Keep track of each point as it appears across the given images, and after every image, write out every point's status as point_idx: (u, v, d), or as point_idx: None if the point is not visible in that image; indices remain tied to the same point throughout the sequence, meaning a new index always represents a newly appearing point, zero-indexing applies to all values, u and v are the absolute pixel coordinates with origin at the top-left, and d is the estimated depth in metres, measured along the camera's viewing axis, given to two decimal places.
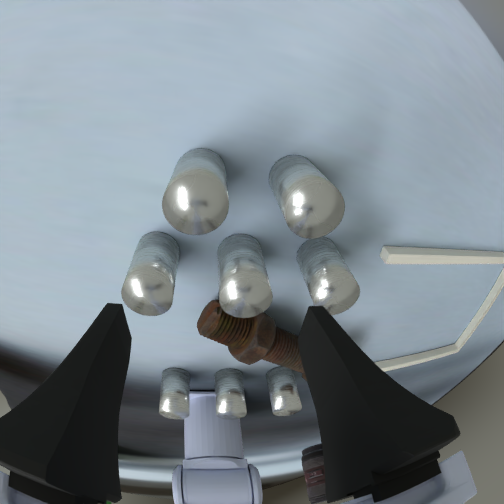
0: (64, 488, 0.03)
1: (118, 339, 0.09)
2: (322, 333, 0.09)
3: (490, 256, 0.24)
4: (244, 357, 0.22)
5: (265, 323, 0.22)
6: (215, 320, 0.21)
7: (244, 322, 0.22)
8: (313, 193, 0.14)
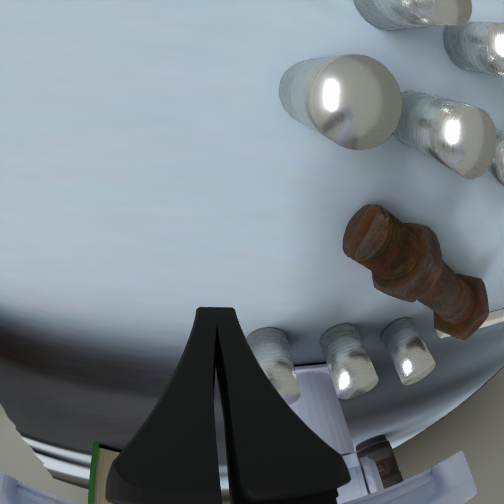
0: None
1: (216, 343, 0.10)
2: (218, 336, 0.09)
3: None
4: (413, 288, 0.14)
5: (431, 236, 0.14)
6: (382, 228, 0.13)
7: (410, 234, 0.14)
8: None
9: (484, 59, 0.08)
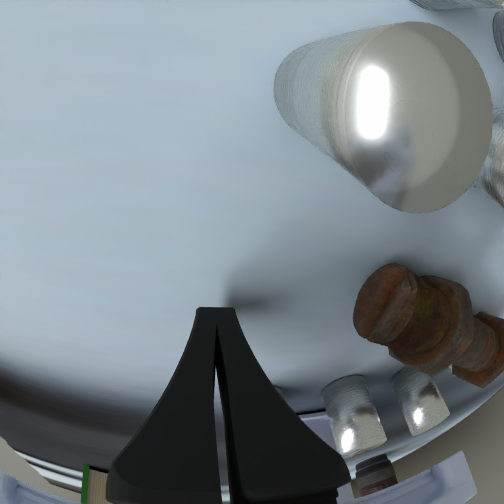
0: None
1: (215, 343, 0.10)
2: (218, 336, 0.09)
3: None
4: (436, 364, 0.10)
5: (463, 297, 0.10)
6: (407, 304, 0.09)
7: (439, 300, 0.10)
8: None
9: None
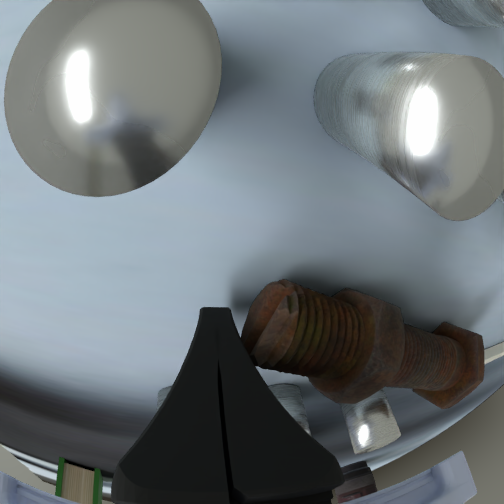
0: None
1: None
2: (213, 336, 0.09)
3: None
4: (350, 394, 0.09)
5: (387, 316, 0.10)
6: (286, 329, 0.09)
7: (347, 322, 0.09)
8: None
9: None
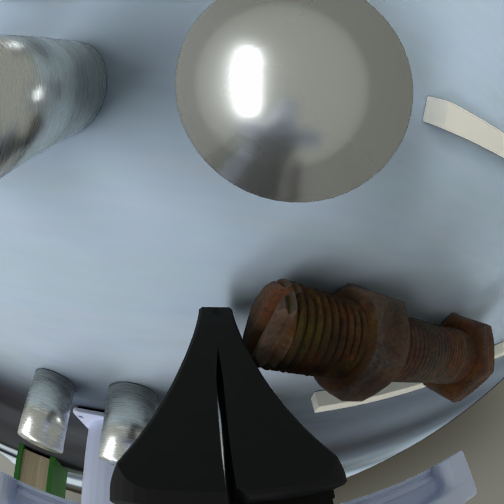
0: None
1: None
2: (215, 336, 0.09)
3: None
4: (355, 392, 0.09)
5: (391, 312, 0.09)
6: (285, 329, 0.09)
7: (349, 319, 0.09)
8: None
9: None
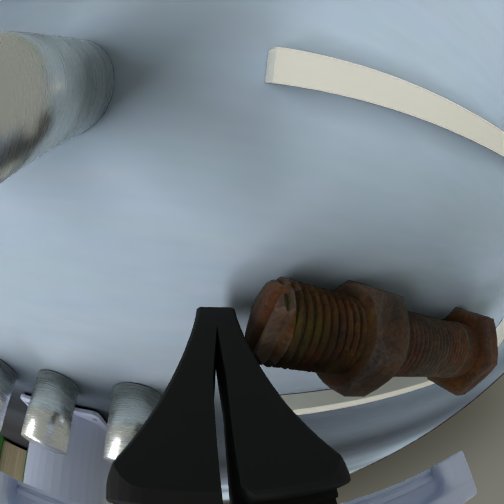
0: None
1: (216, 343, 0.10)
2: (218, 336, 0.09)
3: None
4: (357, 387, 0.09)
5: (390, 307, 0.09)
6: (285, 326, 0.09)
7: (348, 315, 0.09)
8: None
9: None
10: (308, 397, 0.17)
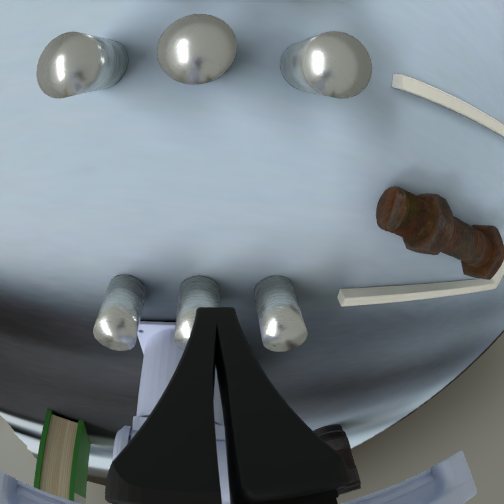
0: None
1: (215, 343, 0.10)
2: (218, 336, 0.09)
3: None
4: (434, 244, 0.17)
5: (441, 201, 0.17)
6: (402, 204, 0.17)
7: (424, 203, 0.17)
8: None
9: None
10: (388, 289, 0.25)
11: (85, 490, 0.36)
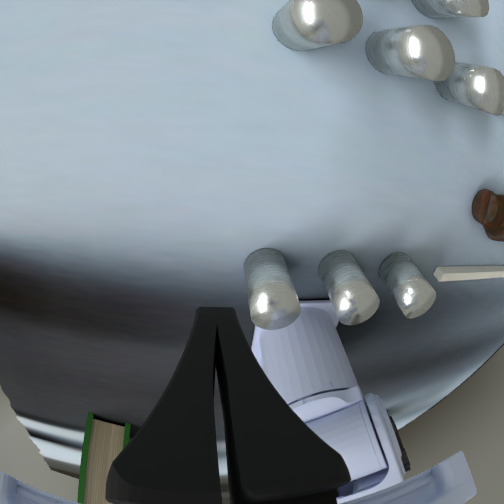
0: None
1: (215, 343, 0.10)
2: (218, 336, 0.09)
3: None
4: None
5: None
6: (494, 203, 0.18)
7: (503, 202, 0.18)
8: None
9: (441, 1, 0.09)
10: (467, 268, 0.25)
11: None
